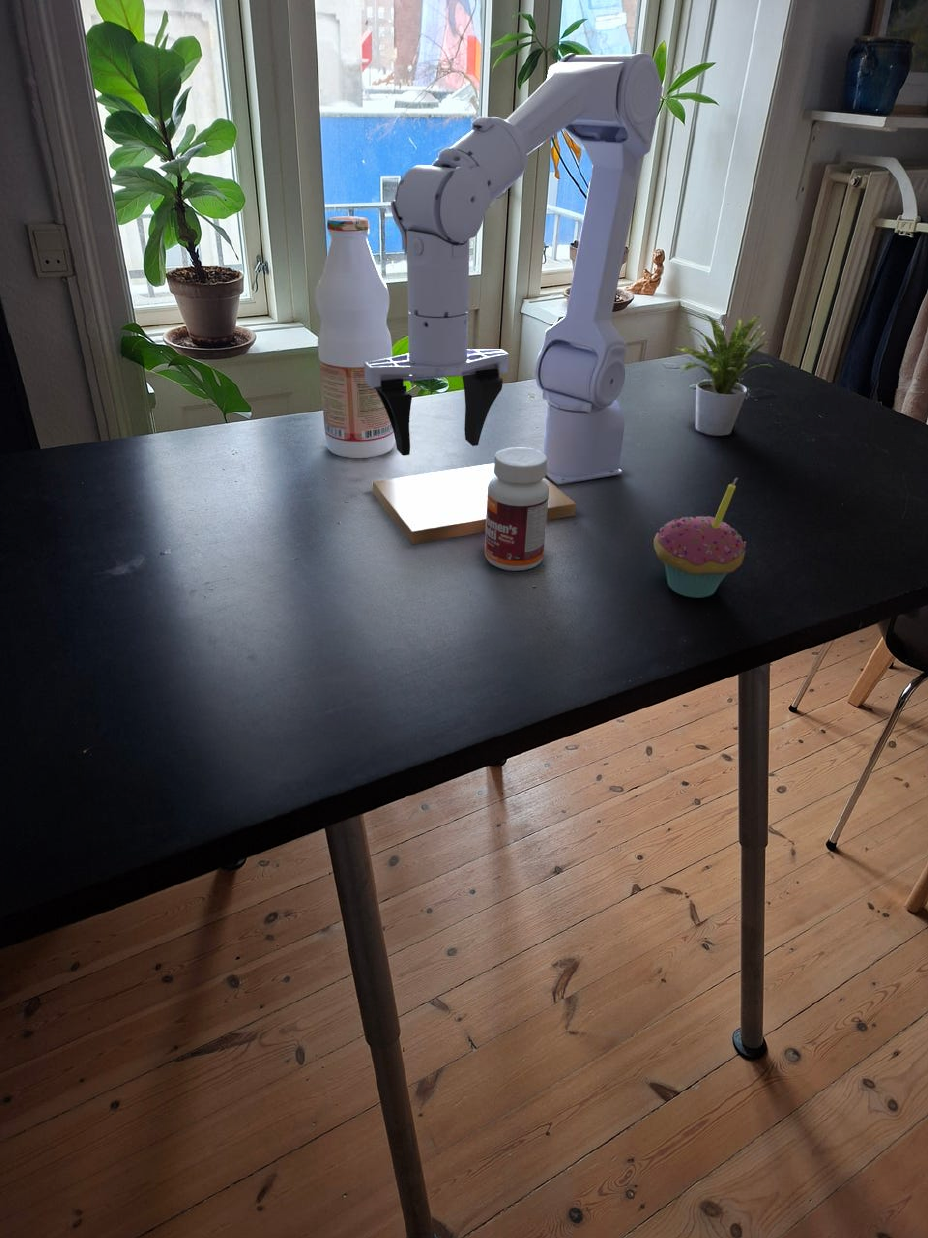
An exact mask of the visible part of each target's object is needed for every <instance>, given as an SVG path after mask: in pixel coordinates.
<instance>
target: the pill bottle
mask: <svg viewBox="0 0 928 1238" xmlns="http://www.w3.org/2000/svg"><path fill="white" fill-rule="evenodd" d="M493 463H494V475H495V476H494V477H493V478H492V479H491V480H490V482H489V484H488V493H487V511H486V532H485V539H484V540H485V542H484V556H485V558H486V560H487V562H489V563H490V564H491V565H493V566H494V567H495V568H498V569H501V570H505V571H511V572H518V571H519V572H520V571H526V570H531V569H533V568H535V567H537V566H539V564H540V563H541V562H542V561H543V558H544V553H545V542H546V532H547V531H546V530H547V521H548V520H547V509H548V499H549V486H548V484H547V482H546V481H545V479H544V478H546V477H547V476H546V473H547V457H546V455H545V454H544V453H543V451H541V450H539V449H535V448H531V447H523V446H517V447H516V446H513V447H506V448H502V449H500V450H498V451H496V453H495V454H494V460H493Z"/></svg>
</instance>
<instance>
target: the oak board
mask: <svg viewBox="0 0 928 1238" xmlns="http://www.w3.org/2000/svg"><path fill="white" fill-rule="evenodd" d="M494 476H495V475H494V462H493V463H487V464H481V465H473V466H468V467H461V468H453V469H448V470H440V471H434V472H427V473H419V474H414V475H407V476H400V477H394V478H386V479H380V480H374V481H372V494H373V495H374V497H375V498H376V499H377V501H378V502H379V503H380V505H381V506H382V507H383V509H384V510H385V511H386V513H388V515H389V517H391V519H392V520H393V522H394V523H395V524H396V525H397V527H398V528H399V530H400V531H401V533H403V535H404V536H405V537H406V539H407V540H408V542H410V544H411V545H413V546H414V545H418V544H419V545H420V544H425V543H430V542H435V541H441V540H447V539H453V538H458V537H464V536H469V535H475V534H480V533H486V511H487V493H488V484H489V482H490V480H491V479H492V478H493V477H494ZM544 479H545V481H546V482H547V484H548V486H549V499H548V509H547V521H552V520H558V519H563V518H569V517H575V516H576V509H577V503H576V502H575V501H574V500H573V499H571V498H570V497H569V496H568V495H567V494H565V493H564V492H563V491H562V490H561V489H559V488H558V487H557V486H556V485H554V483H552V482H551V481H549V480H548V479H547V478H546V477H545V478H544Z"/></svg>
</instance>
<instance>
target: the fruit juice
mask: <svg viewBox="0 0 928 1238" xmlns="http://www.w3.org/2000/svg"><path fill="white" fill-rule="evenodd" d="M326 228H327V235H328V236H330V242H329V246H328V249H327V254H326V259H325V262H324V267H323V270H322V273H321V276H320V279H319V280H318V283H317V285H316V287H315V292H314V303H315V304H314V305H315V309H316V312H317V314H318V317H319V320H320V328H319V331H318V333H317V334H318V335H317V357H318V364H319V365H318V368H319V379H320V381H319V382H320V392H321V405H322V417H323V430H324V440H325V445H326V447H327V449H328V451H329V452H330V453H332V454H334V455H337V456H339V457H344V458H348V459H349V458H350V459H367V458H374V457H379V456H382V455H384V454H387V453H389V452H390V451H391V450H392V449H393V448H394V446H395V443H396V441H395V436H394V432H393V429H392V426H391V423H390V420H389V417H388V415H387V412H386V410H385V407H384V405H383V403H382V401H381V399H380V397H379V395H378V393H377V391H376V390H375V388H374V387H372V388H371V387H370V386H369V385H368V384H367V383H366V382H365V371H364V362H370V361H377V360H382V359H386V358H391V357H394V355H393V341H392V335H391V332H390V330H389V328H388V324H387V319H388V314H389V309H390V304H391V303H390V292H389V289H388V286H387V283H385V281H384V279H383V278H382V276H381V274H380V272H379V270H378V269H379V268H378V266H377V265H376V261H375V258H374V256H373V253H372V250H371V247H370V245H369V241H368V235H370V228H371V227H370V221H369V219H368V218H367V217H363V216H362V217H361V216H353V215H345V216H344V215H341V216H340V215H339V216H331V217H328V219H327V221H326Z"/></svg>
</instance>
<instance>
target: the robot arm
mask: <svg viewBox="0 0 928 1238" xmlns="http://www.w3.org/2000/svg"><path fill="white" fill-rule="evenodd" d="M547 73H548V74H547V78H546V80H544V82H543V83H542V84H541V85H540V86H539V87H538V88H537V89H536V90H535V91H534V92H533V93H532V94H531V95H530V96H529V97H528V98H527V99H526V100H524V101H523V103H522V104H521V105H520V106H519V107H517V108H516V109H515V110H514V111H513V112H512V113H511V114H510V115H509V116H508V117H507V118H506V119H503V118H501V117H496V116H492V117H491V116H478V117H477V118H476V119H474V120H473V121H472V122H471V129H472V130H471V131H470V132H468V133H467V134H466V135H464V136H463V137H462V138H461V139H460V140H458V141H457V142H456V143H455V144H453V145H452V146H451V147H444V148H443V149H441V150H440V151H439V152H438V158H436V159H435V160H434V161H433V162H432V164H431V165H423V164H418V165H415V166H413V167H411V168H409V170H407V171H406V173H405V174H404V175H403V176H402V177H401V179H400V180H399V182H398V184H397V186H396V189H395V194H394V200H392V201H390V209H391V214H392V218H393V220H394V223H395V225H396V226H397V228H398V230H399V232H400V235H401V249H402V250H403V251H404V255H406V269H407V270H406V279H407V280H406V281H407V282H406V285H407V287H406V288H407V327H408V328H407V331H408V332H407V333H408V335H407V337H408V353H404V354H401V355H395V356H393V357H391V358H386V359H382V360H377V361H370V362H364V371H365V382H366V383H367V384H368V385H369V386H370V387H371V388H372V387H374V388H375V390H376V391H377V393H378V395H379V397H380V399H381V401H382V403H383V405H384V407H385V410H386V412H387V415H388V417H389V420H390V423H391V426H392V429H393V432H394V436H395V445H396V450H397V451H398V452H399V453H400V454H401V456H403V457H404V456H410V453H411V438H410V437H411V436H410V417H411V414H410V413H411V406H412V399H413V395H411V394H410V393H409V392H408V391H407V385H405V382H415V381H425V380H434V379H443V378H451V377H453V378H454V377H460V376H461V377H462V382H463V394H464V430H463V431H464V440H465V441H466V442H467V443H469V445H471V446H472V447H477V446H479V444H480V439H481V436H482V432H483V428H484V425H485V422H486V419H487V416H488V414H489V412H490V410H491V408H492V407H493V404H494V402H495V401H496V398H497V397H498V395H499V394H500V393H501V392H502V390H503V382H504V381H503V378H501V377H500V376H499V375H501V374H508V373H509V360H510V354H509V353H508V352H506V351H505V350H504V349H501V348H497V349H468V340H469V339H468V337H469V333H468V331H469V329H468V328H469V287H470V286H469V282H470V279H469V277H470V239H472V238H475V237H476V236H477V235H478V233H479V231H480V229H481V227H482V224H483V222H484V219H485V215H486V212H487V211H488V210H489V209H490V208H491V204H492V203H493V202H494V201H496V199H498V198H499V197H500V196H501V195H502V194H503V193H505V192H506V191H507V190H508V189H510V187H511V186H512V185H514V184H515V183H516V182H517V181H519V179H521V178H522V176H523V175H524V174H525V172H526V168H527V164H528V155H529V154H531V153H532V152H534V151H535V150H536V149H537V148H539V147H540V146H542V145H543V144H544V143H546V142H547V141H548V140H550V139H552V138H553V137H554V136H555V135H557V134H558V133H560V132H561V131H562V130H564V131H565V132H566V133H567V135H568V136H569V137H570V138H571V140H572V141H573V142H574V143H575V144H576V145H577V147H578V148H580V149H581V150H583V151H584V152H585V153H586V155H587V157H588V160H589V161H590V163H591V174H590V179H589V184H588V190H587V195H586V201H585V206H584V212H583V217H582V223H581V227H580V234H579V240H578V244H577V251H576V257H575V262H574V266H573V273H572V277H571V283H570V288H569V289H570V290H569V295H568V301H567V306H566V312H565V316H564V317H563V318H561V319H559V321H557V322H556V323H554V324H553V325H551V326H550V327H548V328H547V329H546V330H545V336H544V341H543V344H542V347H541V349H540V352H539V353H538V355H537V358H536V360H535V366H534V378H535V382H536V385H537V387H538V388H539V389H540V390H541V391H542V399H543V400H545V401H547V402H546V413H545V414H546V415H545V424H544V425H545V427H544V438H543V451H542V452H543V453H544V454H545V455H546V457H547V473H546V476H545V477H548V478H549V479H550V480H551V481H553V482H554V483H555V484H557V485H564V484H571V483H577V482H582V481H589V480H595V479H601V478H608V477H613V476H619V475H622V473H623V470H622V469H621V468H620V463H621V461H620V460H621V454H622V447H623V440H624V433H625V415H624V410H623V408H622V406H621V404H620V403H619V401H617V398H618V397H619V396H620V394H621V392H622V389H623V387H624V384H625V380H626V367H625V366H626V365H625V359H626V351H627V346H628V345H627V343H626V341H625V339H624V338H623V337H622V336H621V334H620V333H619V332H618V330H617V329H616V328H615V327H614V326H613V323H611V319H612V314H613V310H614V305H615V300H616V294H617V289H618V285H619V281H620V280H619V279H620V275H621V270H622V265H623V262H624V256H625V255H624V254H625V251H626V245H627V241H628V236H629V231H630V227H631V223H632V222H631V221H632V216H633V211H634V206H635V203H636V202H635V201H636V198H637V197H636V196H637V192H638V187H639V181H640V177H641V171H642V166H643V162H644V157H645V155H647V154H649V152H650V151H651V148H652V144H653V138H654V134H655V130H656V125H657V120H658V116H659V115H658V114H659V110H660V105H661V99H662V97H663V96H662V95H663V94H662V93H663V89H664V88H663V84H662V81H661V77H660V74H659V71H658V68H657V65H656V62H655V60H654V58H653V57H652V56H651V55H650V54H649V53H646V52H637V53H636V54H580V53H573V52H572V53H567V54H565V55H564V56H563V57H562V58H561V59H560V60H559V61H557V62H555V63H553V64H551V65H550V66H549V69H548V72H547ZM572 343H573V344H572Z"/></svg>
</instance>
